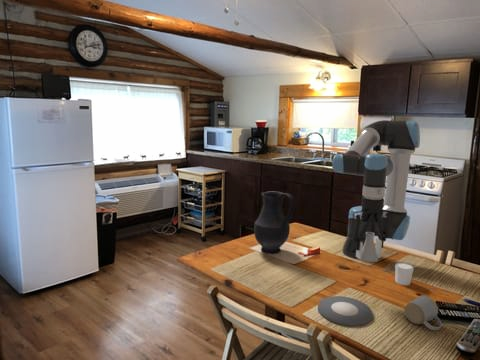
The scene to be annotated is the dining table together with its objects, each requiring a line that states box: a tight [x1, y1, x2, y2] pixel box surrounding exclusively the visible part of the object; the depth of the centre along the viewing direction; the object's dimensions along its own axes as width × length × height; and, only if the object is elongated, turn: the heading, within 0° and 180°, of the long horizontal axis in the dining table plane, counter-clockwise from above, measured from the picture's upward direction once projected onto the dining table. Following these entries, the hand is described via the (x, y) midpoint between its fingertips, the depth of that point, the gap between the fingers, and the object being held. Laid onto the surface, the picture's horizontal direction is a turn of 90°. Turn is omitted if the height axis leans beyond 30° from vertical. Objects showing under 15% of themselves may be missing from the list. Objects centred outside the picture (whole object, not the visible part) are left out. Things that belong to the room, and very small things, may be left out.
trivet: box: [317, 295, 373, 327], centre depth 129 cm, size 18×18×1 cm
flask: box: [359, 232, 379, 263], centre depth 139 cm, size 7×7×10 cm
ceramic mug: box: [404, 295, 443, 331], centre depth 123 cm, size 11×8×8 cm
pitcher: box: [253, 190, 296, 255], centre depth 181 cm, size 17×21×30 cm
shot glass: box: [394, 262, 414, 286], centre depth 152 cm, size 7×7×7 cm
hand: (368, 257), depth 140 cm, fingers closed on flask, 7 cm apart
